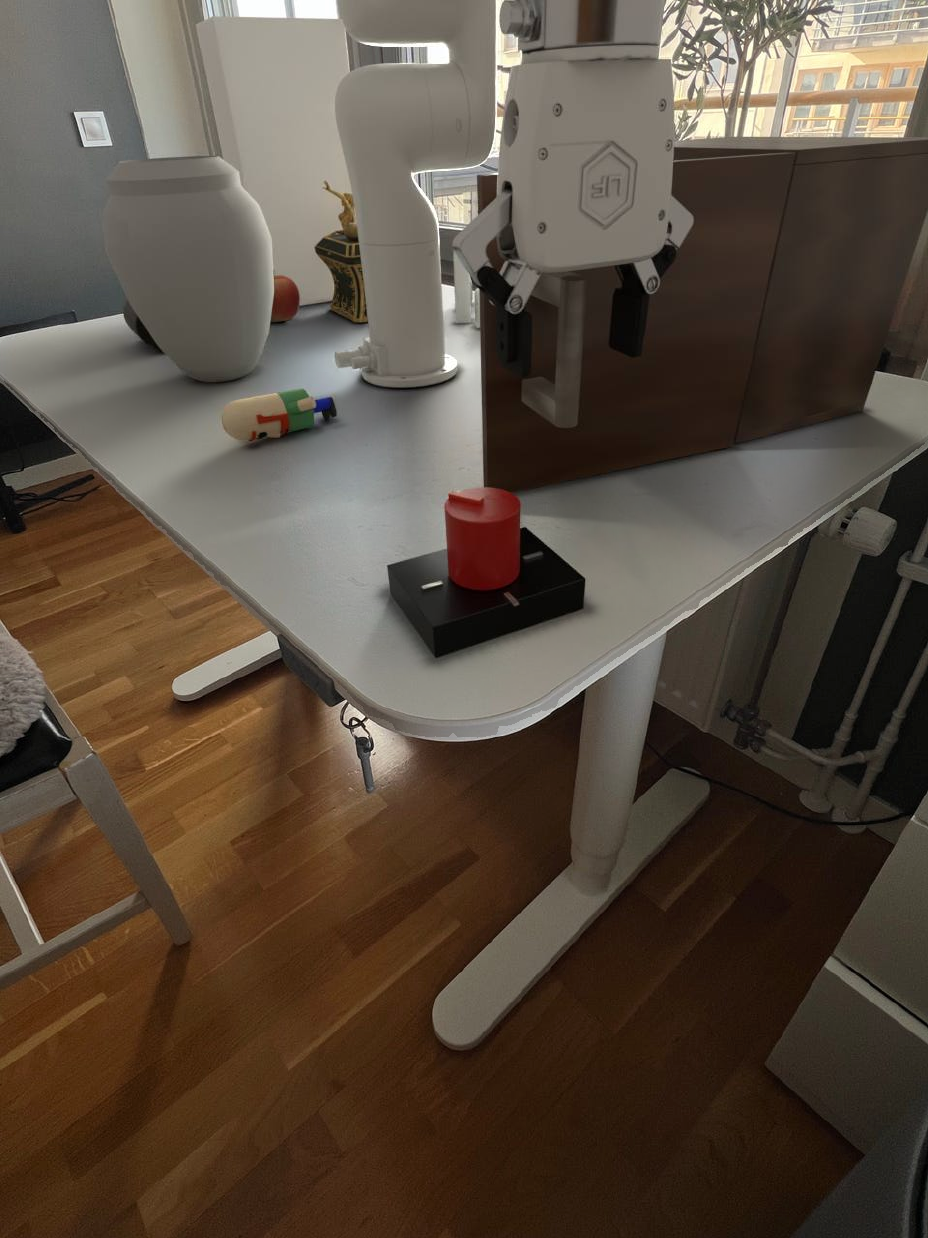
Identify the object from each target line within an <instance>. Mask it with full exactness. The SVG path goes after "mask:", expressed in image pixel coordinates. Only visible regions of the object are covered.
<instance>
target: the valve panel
mask: <svg viewBox="0 0 928 1238" xmlns="http://www.w3.org/2000/svg"><path fill="white" fill-rule="evenodd" d="M386 568H387V576H388V585H389V593H390V596H391V597H392V598H393V600H394V602H395V603H396V604H397V606H398V608H400V610H401V611H402V612H403V614H404V616H405V617H406V618H407V620H408V621H409V623H410V624H411V626H412V627H413V628H414V630H415V631H416V633H417V634H418V636H419V637H420V639H421V640H422V641H423V643H424V645H425V646H426V647H427V648H428V650H429V651H430V652H431V654H432V655H433V657H434V658H435V659H438V658H441V657H443V656H447V655H450V654H453V653H455V652H458V651H462V650H465V649H467V648H471V647H473V646H476V645H479V644H482V643H485V642H488V641H491V640H495V639H497V638H500V637H503V636H507V635H510V634H512V633H515V632H516V633H517V632H519V631H521V630H524V629H527V628H531V627H533V626H536V625H537V626H538V625H539V624H542V623H546V622H549V621H551V620H554V619H558V618H560V617H563V616H566V615H569V614H572V613H575V612H579V611H581V610H583V609H584V607H585V606H584V604H585V594H586V582H587V578H586V577H585V576H583V575H582V574H581V573H580V572H579V571H578V570H577V569H575V568H574V567H573V566H572V565H571V564H569V563H568V562H567V561H566V560H565V559H564V558H563V557H561V556H560V555H559V554H558V553H557V552H555V550H554V549H552V548H551V547H550V546H548V545H547V543H545V542H544V541H543V540H542V539H541V538H539V537H538V536H537V535H535V534H534V533H533V532H532V531H531V530H530V529H529V528H527V527H526V526H523V527H520V572H519V575H518V577H517V578H516V579H515V580H514V581H513V582H512V583H511V584H509V585H507V586H505V587H502V588H499V589H494V590H485V591H480V590H471V589H467V588H464V587H461V586H459V585H458V584H456V583H455V582H453V581H452V579H451V578H450V576H449V573H448V558H447V548H443V549H440V550H436V551H433V552H429V553H426V554H422V555H418V556H415V557H411V558H408V559H403V560H399V561H396V562H393V563H390V564H387V565H386Z"/></svg>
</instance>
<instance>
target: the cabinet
mask: <svg viewBox="0 0 928 1238" xmlns="http://www.w3.org/2000/svg"><path fill="white" fill-rule="evenodd" d="M772 153H795V155H794V160H793V164H792V169H791V174H790V179H789V183H788V188H787V193H786V197H785V202H784V207H783V211H782V216H781V221H780V225H779V230H778V235H777V240H776V244H775V249H774V254H773V258H772V263H771V268H770V272H769V277H768V282H767V286H766V291H765V296H764V301H763V305H762V310H761V315H760V319H759V324H758V329H757V333H756V338H755V343H754V348H753V352H752V357H751V362H750V366H749V371H748V376H747V380H746V385H745V390H744V394H743V399H742V404H741V409H740V413H739V418H738V423H737V427H736V432H735V437H734V441H733V445H737V444H742V443H745V442H749V441H753V440H757V439H760V438H763V437H768V436H771V435H775V434H780V433H784V432H788V431H791V430H795V429H799V428H802V427H806V426H810V425H814V424H817V423H822V422H825V421H829V420H833V419H836V418H840V417H844V416H848V415H852V414H855V413H859V412H862V411H864V408H865V406H866V402H867V401H868V396H869V394H870V390H871V387H872V384H873V381H874V378H875V374H876V371H877V369H878V366H879V363H880V359H881V357H882V353H883V350H884V347H885V345H886V341H887V338H888V334H889V332H890V329H891V327H892V326H891V325H892V323H893V320H894V316H895V313H896V310H897V308H898V307H897V306H898V304H899V301H900V298H901V295H902V292H903V289H904V286H905V282H906V279H907V276H908V274H909V270H910V267H911V265H912V260H913V257H914V255H915V252H916V248H917V246H918V242H919V239H920V236H921V234H922V230H923V227H924V224H925V221H926V218H927V215H928V136H926V137H922V136H920V137H919V136H918V137H917V136H914V137H912V136H910V137H908V136H875V137H874V136H721V137H708V138H693V139H692V138H691V139H679V140H678V139H677V140H674V156H673V161H675V160H689V159H703V158H717V157H731V156H744V155H758V154H772Z"/></svg>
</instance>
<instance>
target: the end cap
mask: <svg viewBox="0 0 928 1238" xmlns="http://www.w3.org/2000/svg"><path fill="white" fill-rule="evenodd" d="M122 312H123V313H122V315H123V319H124V321H125V323H126V325H127V326H128V327H129V329H130V330H132V332H133V333H134V334H135V335H136V336H137V337H138V338H139V339H140V340H141V341H142V342H143V343H145V344H146V345H147V346H149V347H151V348H152V349H154V350H156V351H158V352H162V353H164V352H163V351H162V350H161V349H160V348H159V346H158V345H157V344H156V342H155V341H154V339H153V338H152V336H151V335H150V333H149V332H148V330H147V329H146V327H145V326H144V324H143V323H142V322H141V320H140V319H139V317H138V316H137V314H136V313H135V311H134V310H133V308H132V307H131V305H130V303H129V301H128V299H127V300H126V301H125V303H124V305H123V309H122Z"/></svg>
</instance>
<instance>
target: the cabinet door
mask: <svg viewBox="0 0 928 1238" xmlns="http://www.w3.org/2000/svg"><path fill="white" fill-rule="evenodd" d="M794 155H795V153H772V154H758V155H744V156H731V157H717V158H703V159H689V160H675V161H673V175H672V189H671V195H672V196H673V197H674V198H675V199H676V200H677V201H678V202H679V203H680V204H681V205H683V206H684V207H685V208H686V209H687V210H688V211H689V212H690V213H691V214H692V216H693V218H694V222H693V225H692V227H691V229H690V231H689V233H688V234H687V236H686V238H685V239H684V241H683V243H682V245H681V246H680V248H679V249H677V254H676V258H675V260H674V262H673V263H672V264H671V266H670V267H669V268H668V269H667V271H666V272H665V273H664V274H663V276H662V277H661V278H660V285H659V288H658V290H657V291H656V292H655V293H653V294H650V296H649V305H648V313H647V322H646V330H645V336H644V338H643V347H642V354H641V355H640V356H639V357H634V358H632V357H630V356H627V355H625V354H623V353H620V352H618V351H615V350H613V349H612V348H610V347H609V333H610V322H611V310H612V299H613V293H614V292H615V288H620V287H621V288H622V283H621V280H620V278H619V276H618V274H617V272H616V269H615V267H614V265H613V266H606V267H598V268H590V269H582V270H574V271H566V272H557V273H544V272H542V274H541V276H540V278H539V280H538V281H537V283H536V285H535V287H534V289H533V291H532V293H531V295H530V297H529V299H528V300H527V302H526V304H525V311H527V312H529V313H531V315H532V359H531V373H530V374H529V376H528V377H523V378H520V377H518V376H516V375H514V374H513V373H511V372H509V371H508V370H506V369H504V368H503V367H502V364H501V361H500V360H499V358H498V355H497V307H496V306H494V305H492V304H491V303H490V301H489V299H488V298H487V297H486V296H485V295H484V294H483V293H482V292H481V290H480V289H479V296H480V329H479V336H480V337H479V338H480V340H479V341H480V379H481V380H480V381H481V382H480V384H481V385H480V388H481V425H482V426H481V430H482V431H481V434H482V471H483V472H482V474H483V476H482V477H483V487H488V488H497V489H502V490H505V491H508V492H510V493H512V494H513V493H517V492H522V491H526V490H530V489H535V488H540V487H545V486H549V485H553V484H559V483H564V482H569V481H574V480H578V479H579V480H580V479H583V478H587V477H588V478H589V477H594V476H598V475H602V474H608V473H612V472H616V471H621V470H626V469H630V468H637V467H640V466H645V465H650V464H655V463H659V462H664V461H665V462H666V461H670V460H675V459H679V458H684V457H689V456H693V455H697V454H703V453H707V452H712V451H716V450H721V449H722V450H723V449H726V448H732V447H733V446H734V444H733V441H734V437H735V432H736V427H737V423H738V418H739V413H740V409H741V404H742V399H743V394H744V390H745V385H746V380H747V376H748V371H749V366H750V362H751V357H752V352H753V348H754V343H755V338H756V333H757V329H758V324H759V319H760V315H761V310H762V305H763V301H764V296H765V291H766V286H767V282H768V277H769V272H770V268H771V263H772V258H773V254H774V249H775V244H776V240H777V235H778V230H779V225H780V221H781V216H782V211H783V207H784V202H785V197H786V193H787V188H788V183H789V179H790V174H791V169H792V164H793V160H794ZM497 177H498V172H497V173H495V172H494V173H483V174H482V173H481V174H477V175H476V196H477V216H478V215H479V214H480V213H481V212H482V211H483V210H484V209H485V208H486V207H487V206H488V205H489V204H490V203H491V202H492V201H493V200H494V199H495V198H496V197H497ZM486 254H487V256H488V258H489V261H490V263H491V265H492V266H493V268H495V269H496V270H497V271H498V272H500V270H501V269H502V267H503V265H504V263H505V261H506V260H504V259H503V258H502V257H501V256H500V254H499V251H498V246H497V236H496V237H495V238H494V239H493V240H492V241H491V242H490V243H489V244H488V245H487V248H486Z"/></svg>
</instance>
